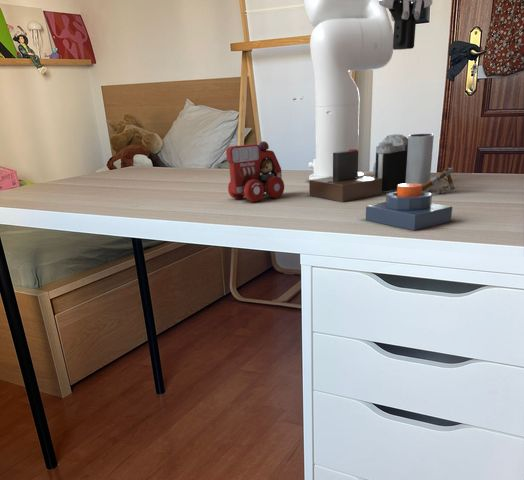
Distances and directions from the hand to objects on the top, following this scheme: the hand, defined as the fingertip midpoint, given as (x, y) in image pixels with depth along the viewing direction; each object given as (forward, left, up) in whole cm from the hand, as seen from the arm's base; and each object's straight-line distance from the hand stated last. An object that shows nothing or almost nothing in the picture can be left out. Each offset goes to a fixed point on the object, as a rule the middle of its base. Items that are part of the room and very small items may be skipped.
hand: (403, 48), depth 87 cm
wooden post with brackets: (+2, +8, -24) cm, 26 cm away
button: (+14, -12, -21) cm, 27 cm away
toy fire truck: (-21, -17, -24) cm, 36 cm away
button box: (+14, -12, -24) cm, 30 cm away
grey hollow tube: (-2, +8, -24) cm, 26 cm away
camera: (-10, +10, -24) cm, 28 cm away
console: (-10, -3, -24) cm, 26 cm away
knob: (-10, -3, -21) cm, 24 cm away
